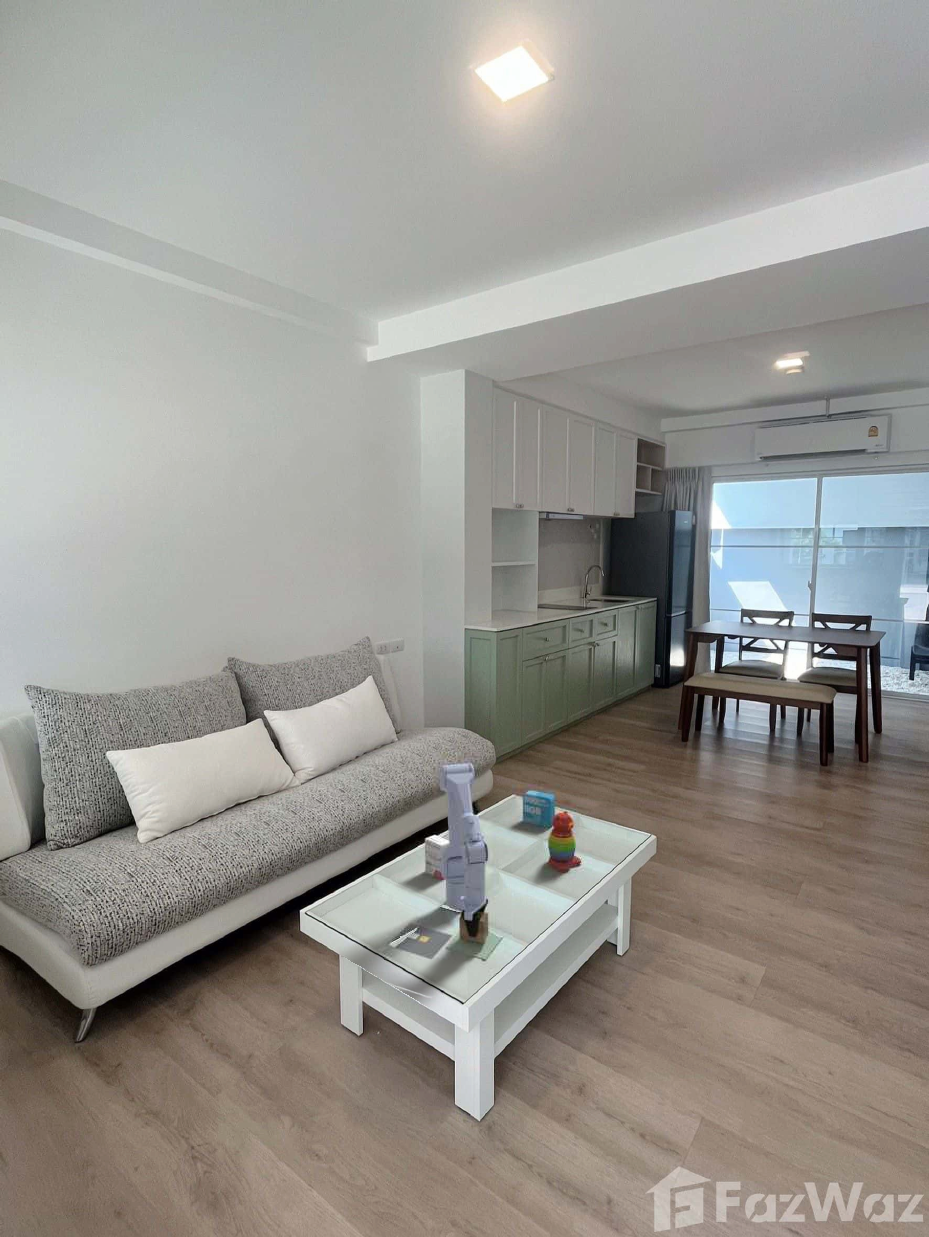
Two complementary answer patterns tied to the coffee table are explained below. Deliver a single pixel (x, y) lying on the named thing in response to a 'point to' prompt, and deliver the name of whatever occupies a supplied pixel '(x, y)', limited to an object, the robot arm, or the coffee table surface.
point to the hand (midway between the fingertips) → (475, 930)
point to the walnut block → (482, 929)
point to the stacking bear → (562, 843)
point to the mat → (475, 946)
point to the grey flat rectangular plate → (422, 941)
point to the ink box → (434, 854)
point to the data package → (538, 808)
